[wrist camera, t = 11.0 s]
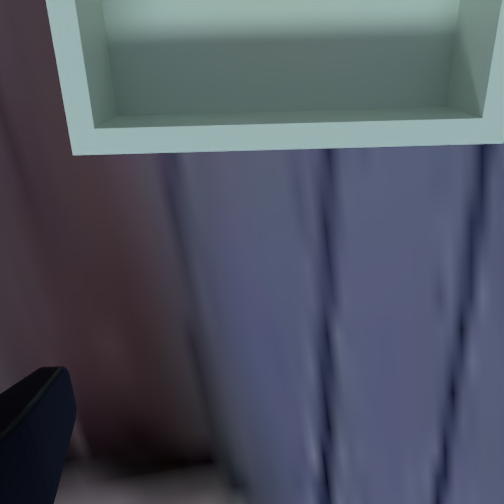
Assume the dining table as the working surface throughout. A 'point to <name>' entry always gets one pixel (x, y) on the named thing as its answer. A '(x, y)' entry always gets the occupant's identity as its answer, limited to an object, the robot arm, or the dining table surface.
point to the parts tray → (278, 73)
